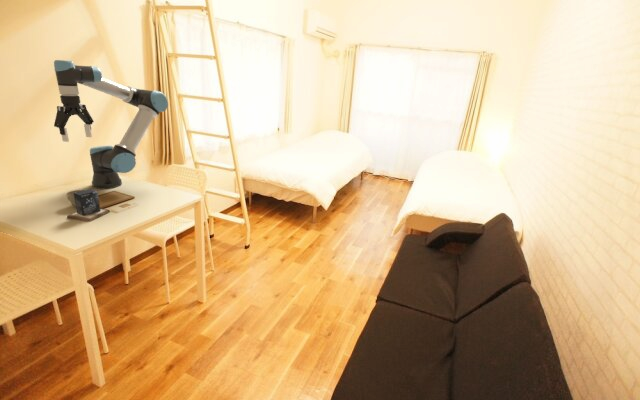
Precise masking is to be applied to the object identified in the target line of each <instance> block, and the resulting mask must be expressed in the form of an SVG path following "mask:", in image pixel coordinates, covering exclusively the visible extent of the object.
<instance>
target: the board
mask: <svg viewBox="0 0 640 400" xmlns="http://www.w3.org/2000/svg"><path fill="white" fill-rule="evenodd" d="M109 213H111V210H110V209H107V208H101V207H100V211H99V212H95V213H92V214H88V215H85V216H82V215H80V214H78V213H77V211H75V212H72V213H70V214H68V215H66V218H67V219H71V220H76V221H77V220H79V221H84V222H92V221H94V220H96V219H99V218H101V217H102V216H105V215H107V214H109Z"/></svg>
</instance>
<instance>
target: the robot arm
mask: <svg viewBox="0 0 640 400" xmlns="http://www.w3.org/2000/svg"><path fill="white" fill-rule="evenodd" d="M53 66H54V73H55V77H56V83H57V86H58V92H59V94H60V96H59V97H60V102H61V104H62V105H63V106H61V105H57V106H56V111H57V112H56V115H55V119H54V120H55V121H54V124H53V127H54V128H55V127H56V128H58V130H59V134H60V135H61V140H62V142H66V143H67V142H68V143H69V141H70V138H69V133H68V130H67V127H66V125H67V123H68V121H69V119H70V117H72V116H74V115H75V116H78V118H80V120H81V121H82V122H84V124H83V127H84V133H85V137H86V138H92V137H93V136H92V127H91V125H93V123H94V122H95V121H94V119H93V118H92V117H93V116H91V113H90V112H89V111H88V110H87V106H86V104H81V98H80V91H79V85H78V84H80V85H83V86H86V87H88V88H91V89H94V90H96V91H99V92H102V93H104V94H107V95H110V96H112V97H115V98H118V99H120V100H122V102H124V103H126V104H129V105H132V106H134V107H137V108H138V111H137V113H136V114H135V116H134V117H133V119H132V121H131V122H130V125H129V126H128V128H127V130H126V132H125V133H124V135H123V137H121V141H120V142H119V143H117V144H114V146H112V145H101V146H93V147H91V148H90V149H89V156H90V160H91V161H90V162H91V166H92V171H93V176H92V180H91V186H92V187H93V188H94V189H111V188H116V187H119V186H121V185H122V184H123V183H122V178H121V177H120V176H119V174H127V173H129V172H131V171H133V169H134V168H135V167H136V164H137V163H136V162H137V161H136V160H137V159H136V156H137V154H136V150H137V148H138V146H139V145H140V143H141V141H142V139H143V138H144V136H145V134H146V133H147V130H148V129H149V126H150V125H151V123H152V122H153V120H154V118H158V116H159V114H160V113H163V112H165V111H167V109H168V106H169V102H168V97H167V96H166V95H165V93H163V92H161V91H159V90H149V89H142V88H141V89H140V88H136V87H135V88H134V87H132V86H125V85H122V84H119V83H117V82H115V81H111V80H110V79H107V78H104V77H103V75H102V71H101V70H100V68H99V67H98V66H92V65H76V64H75V63H74V62H73V61H72V60H61V59H60V60H59V59H56V60H54V61H53Z"/></svg>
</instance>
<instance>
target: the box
mask: <svg viewBox="0 0 640 400" xmlns="http://www.w3.org/2000/svg"><path fill="white" fill-rule="evenodd" d="M82 190H83V191H78V192H73V194H74V199H75V204H76V207H75V209H76V212H77V213H78V214H80V215H82V216H85V215H88V214H92V213H95V212H99V211H100V208H101V207H100V201H99V200H100V199H99V194H98V190H97V189H93V188H87V189H82Z"/></svg>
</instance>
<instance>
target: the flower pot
mask: <svg viewBox="0 0 640 400" xmlns="http://www.w3.org/2000/svg"><path fill="white" fill-rule="evenodd" d="M83 190H84V189H76V190H71V191H69V192H67V193H65V194H66V197H67V199H68V201H69V202H70V203H71V204H72V206H73V207H75V208H76V204H75V199H74V194H73V192H78V191H83Z"/></svg>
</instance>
